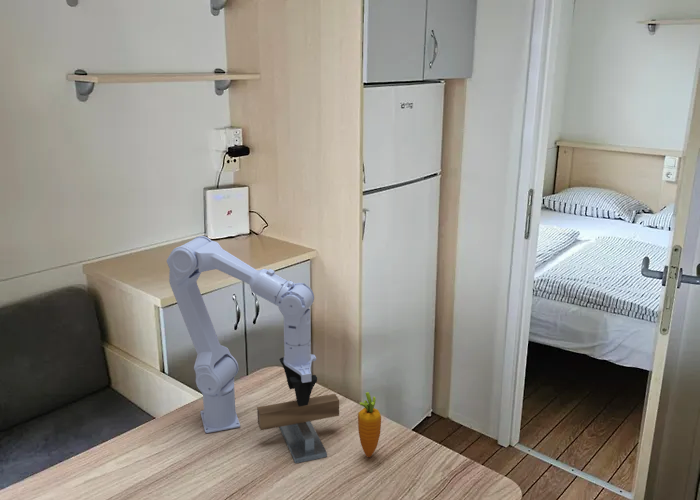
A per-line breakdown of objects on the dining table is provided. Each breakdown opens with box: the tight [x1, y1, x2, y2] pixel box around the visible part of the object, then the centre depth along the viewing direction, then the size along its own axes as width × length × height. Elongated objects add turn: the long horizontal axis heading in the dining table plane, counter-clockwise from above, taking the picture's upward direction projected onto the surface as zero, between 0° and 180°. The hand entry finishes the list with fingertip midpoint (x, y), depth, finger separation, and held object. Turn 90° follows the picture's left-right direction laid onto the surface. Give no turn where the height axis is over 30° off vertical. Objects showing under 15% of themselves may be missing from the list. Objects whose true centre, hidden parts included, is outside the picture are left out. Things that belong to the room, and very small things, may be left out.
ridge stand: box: [278, 421, 328, 465], centre depth 143 cm, size 18×7×5 cm, turn 20°
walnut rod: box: [256, 393, 340, 431], centre depth 141 cm, size 3×18×4 cm, turn 110°
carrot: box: [357, 391, 382, 458], centre depth 134 cm, size 5×5×15 cm
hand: (298, 396), depth 140 cm, fingers open, 7 cm apart
